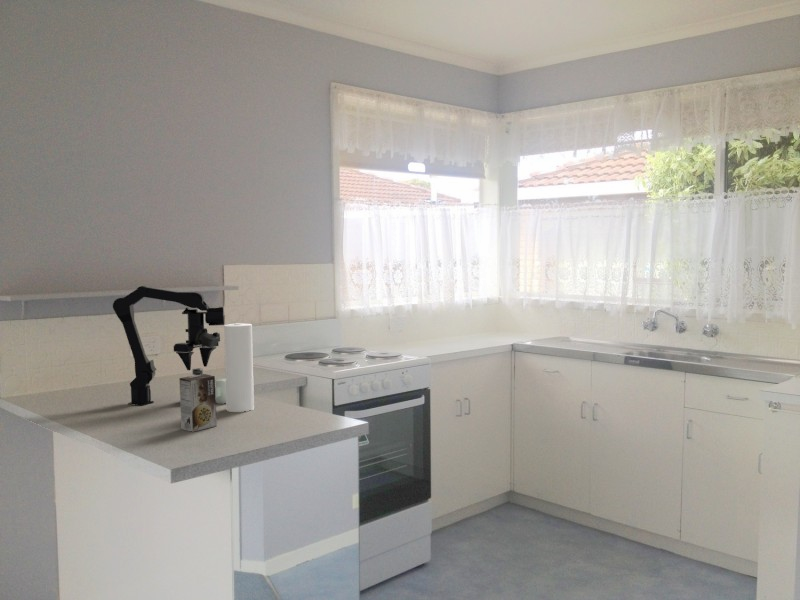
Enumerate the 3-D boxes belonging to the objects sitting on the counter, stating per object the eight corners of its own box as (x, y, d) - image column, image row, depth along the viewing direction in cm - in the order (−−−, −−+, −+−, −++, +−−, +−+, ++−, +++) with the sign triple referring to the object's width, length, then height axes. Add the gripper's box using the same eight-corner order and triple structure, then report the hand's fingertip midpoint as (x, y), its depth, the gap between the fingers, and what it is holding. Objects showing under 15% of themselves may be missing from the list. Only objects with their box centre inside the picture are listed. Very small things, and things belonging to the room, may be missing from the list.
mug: (224, 405, 260) (223, 383, 259) (208, 403, 263) (207, 382, 262) (239, 400, 268) (238, 379, 268) (223, 399, 271) (223, 378, 270)
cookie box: (205, 423, 232) (203, 373, 231) (217, 426, 228) (215, 375, 227) (180, 429, 225) (178, 377, 224) (192, 432, 221) (190, 379, 220)
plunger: (198, 388, 265) (198, 370, 264) (190, 387, 266) (190, 369, 266) (205, 386, 268) (204, 368, 268) (197, 385, 270) (196, 368, 269)
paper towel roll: (247, 412, 247) (245, 324, 245) (221, 411, 249) (219, 324, 247) (258, 406, 257) (256, 322, 255) (233, 406, 258) (231, 322, 256)
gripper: (197, 329, 254) (198, 373, 255) (229, 324, 271) (230, 365, 272) (171, 328, 258) (173, 371, 260) (205, 323, 276) (206, 364, 277)
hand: (197, 368), depth 267 cm, fingers open, 9 cm apart
